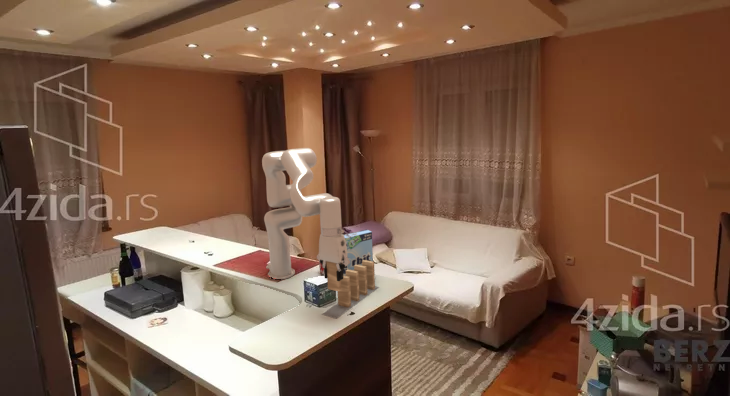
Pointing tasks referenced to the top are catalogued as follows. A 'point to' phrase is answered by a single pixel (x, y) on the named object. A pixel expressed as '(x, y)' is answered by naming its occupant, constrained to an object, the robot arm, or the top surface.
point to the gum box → (358, 248)
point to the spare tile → (332, 277)
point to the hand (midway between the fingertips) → (334, 278)
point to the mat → (340, 310)
